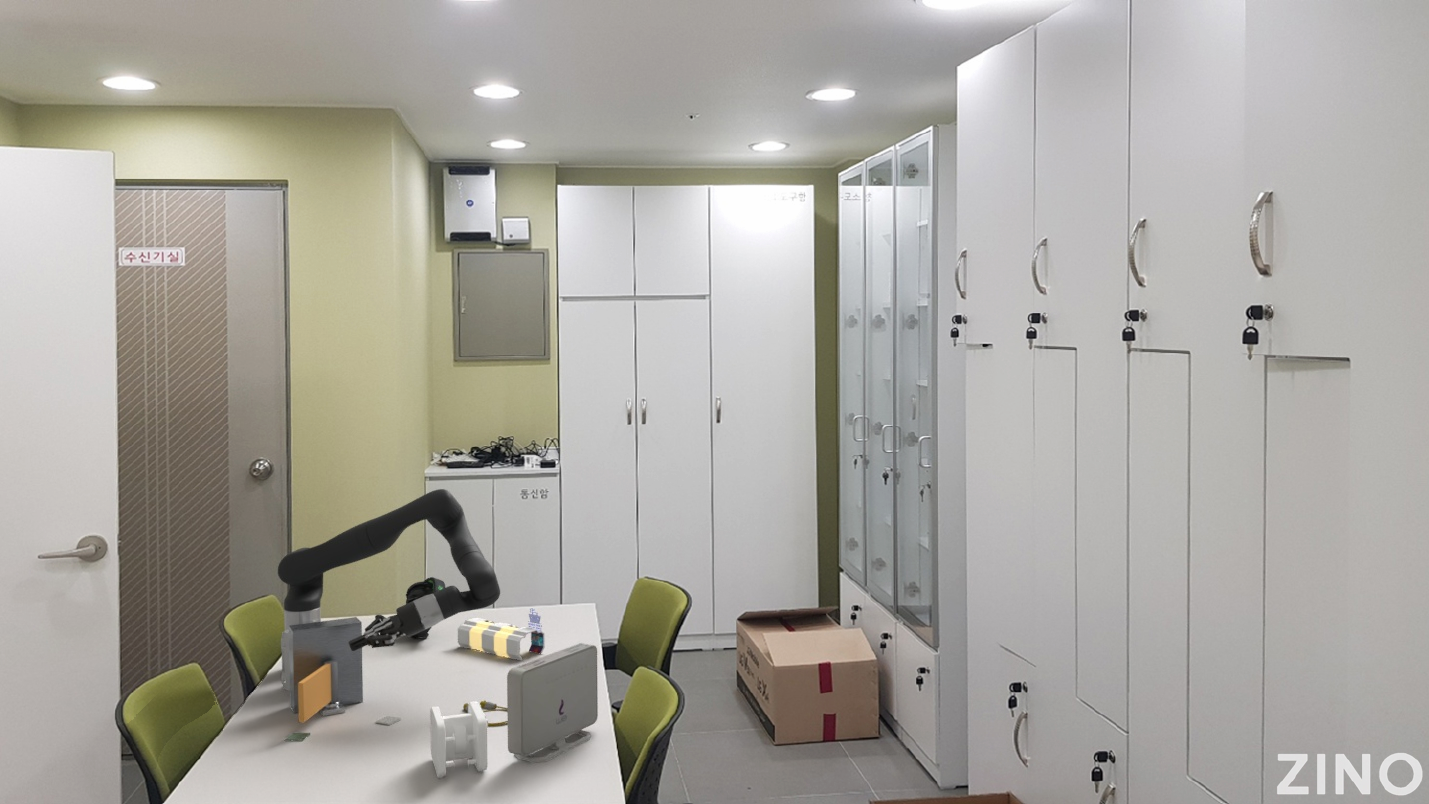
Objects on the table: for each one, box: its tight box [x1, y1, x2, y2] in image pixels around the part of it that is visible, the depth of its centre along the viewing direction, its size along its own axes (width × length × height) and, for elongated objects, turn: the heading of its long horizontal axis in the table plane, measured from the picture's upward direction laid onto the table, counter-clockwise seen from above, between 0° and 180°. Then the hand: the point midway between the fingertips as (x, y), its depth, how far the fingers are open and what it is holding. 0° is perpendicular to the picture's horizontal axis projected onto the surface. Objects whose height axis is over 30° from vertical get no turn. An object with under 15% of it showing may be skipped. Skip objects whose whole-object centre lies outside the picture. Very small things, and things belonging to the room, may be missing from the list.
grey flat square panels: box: [284, 616, 402, 742], centre depth 247 cm, size 26×26×20 cm
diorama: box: [457, 608, 546, 661], centre depth 302 cm, size 25×10×13 cm, turn 56°
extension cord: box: [462, 700, 508, 727], centre depth 248 cm, size 12×16×2 cm
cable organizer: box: [429, 700, 489, 779], centre depth 217 cm, size 15×11×12 cm
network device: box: [506, 642, 599, 763], centre depth 228 cm, size 26×9×20 cm, turn 148°
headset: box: [374, 576, 446, 639], centre depth 318 cm, size 18×14×29 cm
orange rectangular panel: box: [298, 660, 338, 723], centre depth 243 cm, size 18×3×10 cm, turn 177°
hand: (350, 646), depth 246 cm, fingers closed
